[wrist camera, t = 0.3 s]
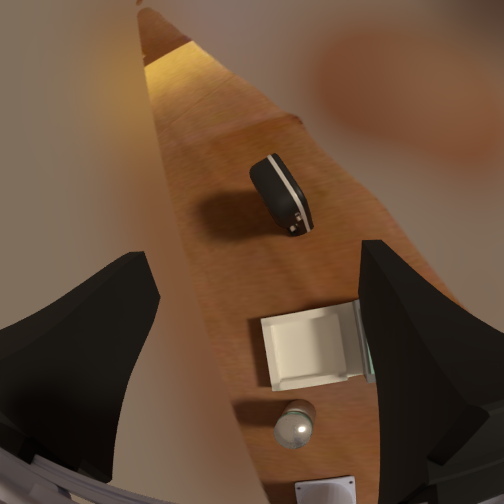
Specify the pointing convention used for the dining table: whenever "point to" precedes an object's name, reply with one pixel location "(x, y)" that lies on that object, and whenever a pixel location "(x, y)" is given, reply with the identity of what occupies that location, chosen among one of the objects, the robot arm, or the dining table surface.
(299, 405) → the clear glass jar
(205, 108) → the dining table surface
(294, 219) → the battery charger
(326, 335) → the charging station
